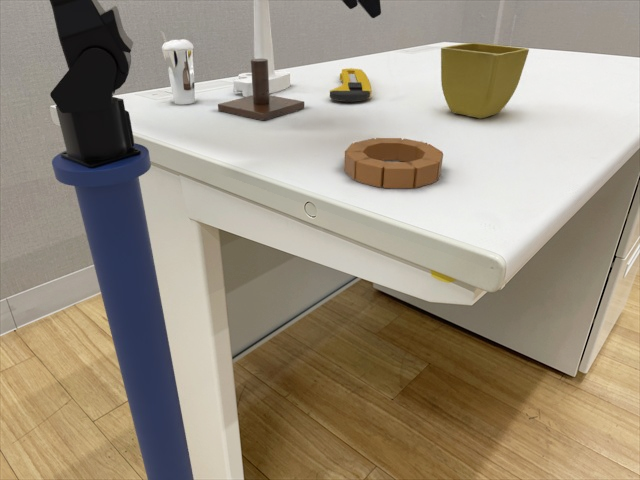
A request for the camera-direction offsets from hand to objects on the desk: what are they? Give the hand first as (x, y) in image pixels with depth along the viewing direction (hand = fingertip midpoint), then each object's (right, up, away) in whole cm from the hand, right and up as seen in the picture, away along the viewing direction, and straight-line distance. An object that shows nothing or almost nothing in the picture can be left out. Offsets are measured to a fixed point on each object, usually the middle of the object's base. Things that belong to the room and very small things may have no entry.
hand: (364, 11), depth 58 cm
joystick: (-16, -1, +28) cm, 32 cm away
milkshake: (-27, -5, +20) cm, 33 cm away
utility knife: (0, -1, +29) cm, 29 cm away
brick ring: (+2, -20, -7) cm, 21 cm away
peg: (-14, -7, +15) cm, 22 cm away
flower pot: (+17, -9, +14) cm, 24 cm away
